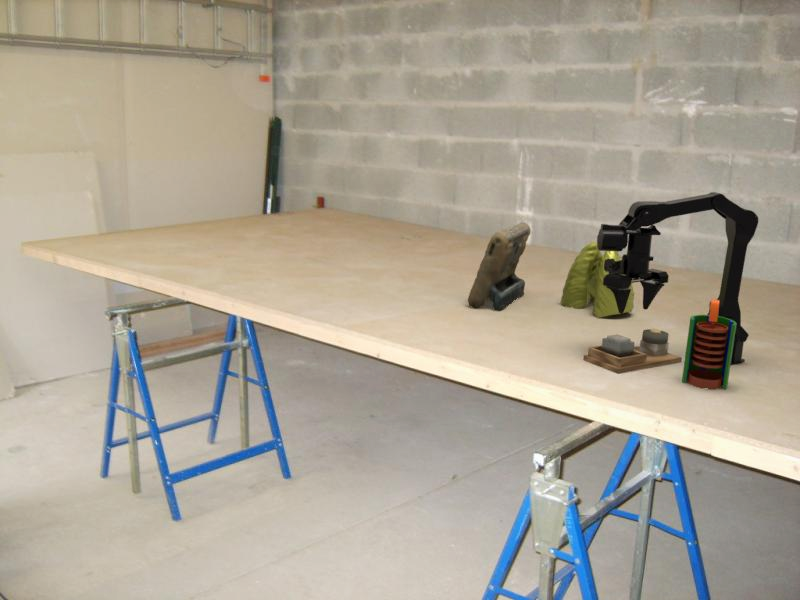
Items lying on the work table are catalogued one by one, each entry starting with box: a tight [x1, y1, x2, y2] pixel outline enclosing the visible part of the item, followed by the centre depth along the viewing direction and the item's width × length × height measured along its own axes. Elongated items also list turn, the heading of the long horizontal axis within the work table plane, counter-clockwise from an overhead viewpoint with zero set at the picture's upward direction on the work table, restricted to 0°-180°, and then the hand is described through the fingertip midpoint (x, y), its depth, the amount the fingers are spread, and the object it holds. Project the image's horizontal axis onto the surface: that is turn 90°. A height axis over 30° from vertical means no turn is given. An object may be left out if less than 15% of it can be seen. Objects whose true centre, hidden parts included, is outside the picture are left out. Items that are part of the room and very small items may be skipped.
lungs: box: [560, 241, 635, 318], centre depth 261 cm, size 25×16×24 cm, turn 30°
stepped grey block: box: [601, 333, 635, 358], centre depth 206 cm, size 6×5×6 cm
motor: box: [681, 298, 737, 390], centre depth 192 cm, size 10×9×20 cm
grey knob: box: [641, 328, 670, 344], centre depth 213 cm, size 6×6×6 cm
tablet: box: [467, 221, 531, 312], centre depth 268 cm, size 33×14×25 cm, turn 162°
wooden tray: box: [582, 339, 683, 375], centre depth 209 cm, size 12×23×4 cm, turn 122°
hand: (633, 311), depth 211 cm, fingers open, 9 cm apart
